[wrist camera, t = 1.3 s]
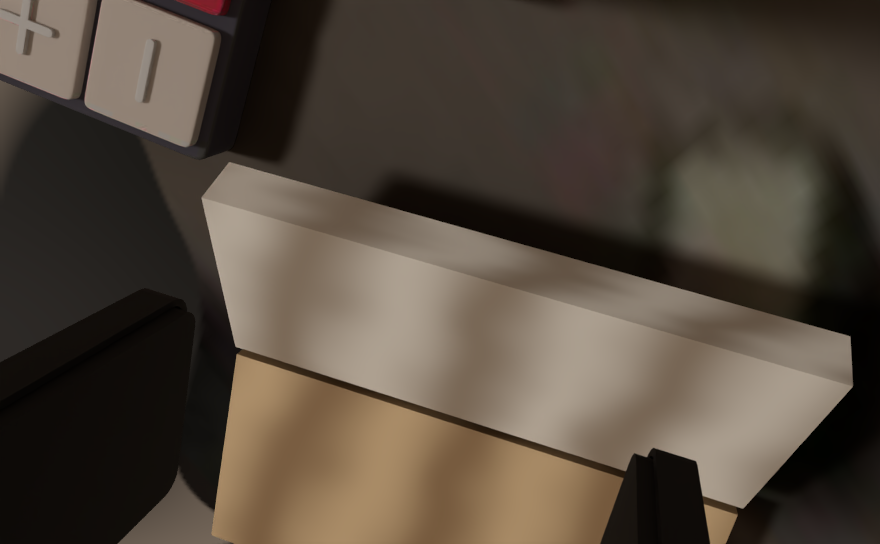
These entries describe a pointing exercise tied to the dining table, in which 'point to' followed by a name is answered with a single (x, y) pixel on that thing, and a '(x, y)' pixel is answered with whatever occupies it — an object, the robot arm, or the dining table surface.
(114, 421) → the robot arm
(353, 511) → the oak board
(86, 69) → the calculator
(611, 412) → the ash plank
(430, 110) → the dining table surface
